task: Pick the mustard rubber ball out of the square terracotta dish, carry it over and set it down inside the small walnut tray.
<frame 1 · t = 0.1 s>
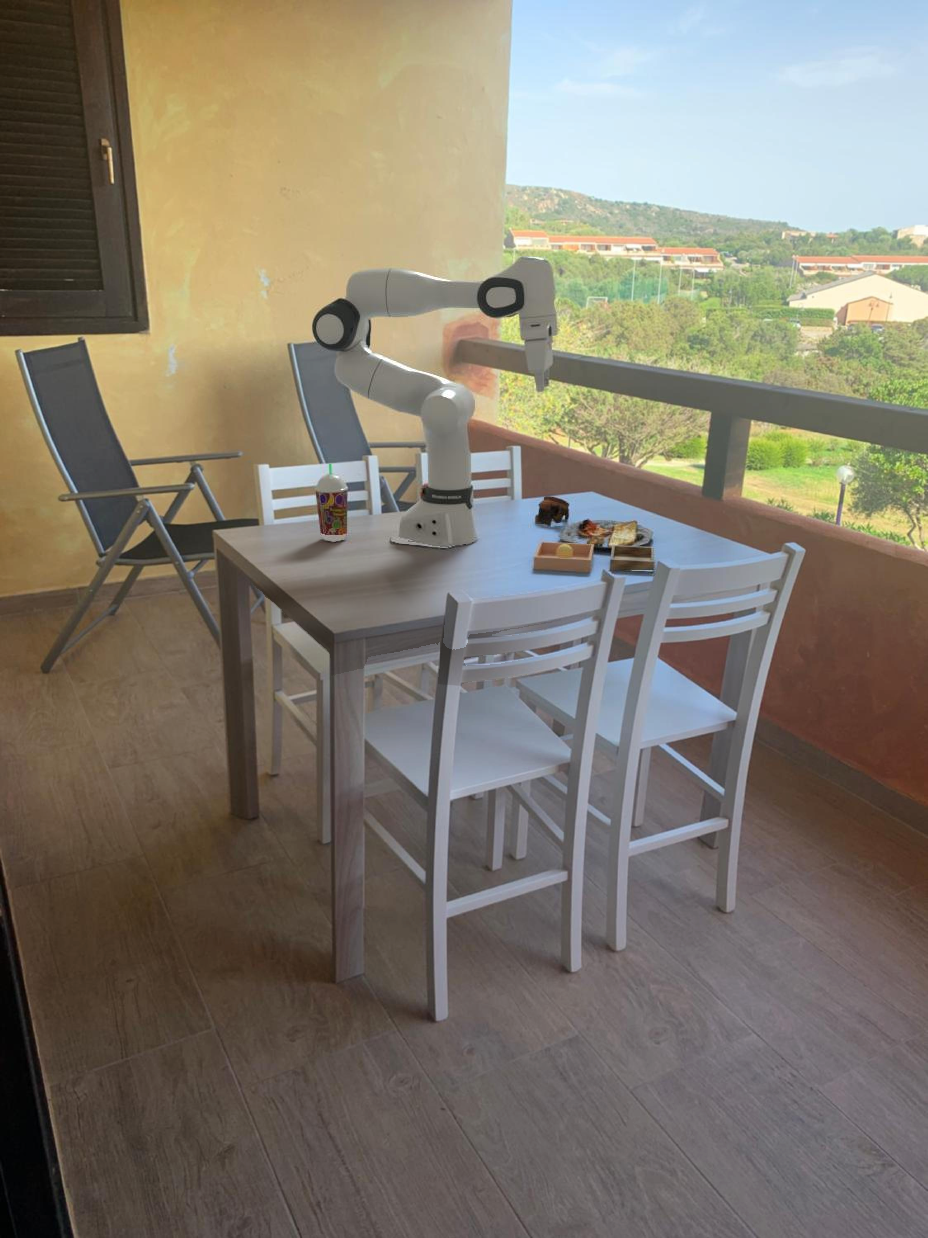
hand: (542, 388, 220), 39 cm above the table, tool pointing down, fingers open, 8 cm apart
food plate: (605, 541, 238), on the table
dish: (564, 562, 219), on the table
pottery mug: (553, 523, 254), on the table
tray: (631, 563, 218), on the table
smoothie: (334, 540, 238), on the table
ball: (564, 552, 218), point 2 cm above the table, touching dish
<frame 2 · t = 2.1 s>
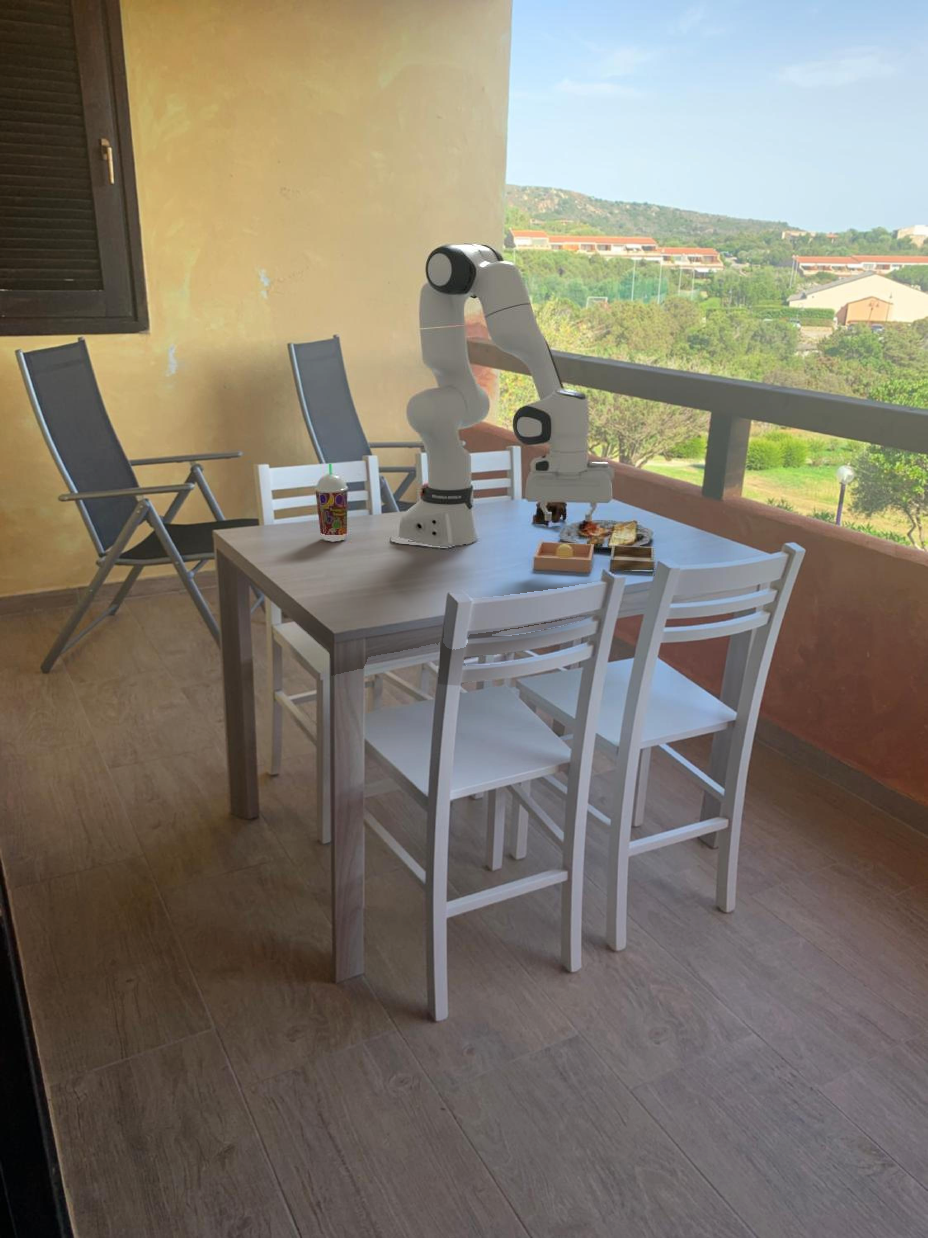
hand: (568, 520, 215), 10 cm above the table, tool pointing down, fingers open, 8 cm apart
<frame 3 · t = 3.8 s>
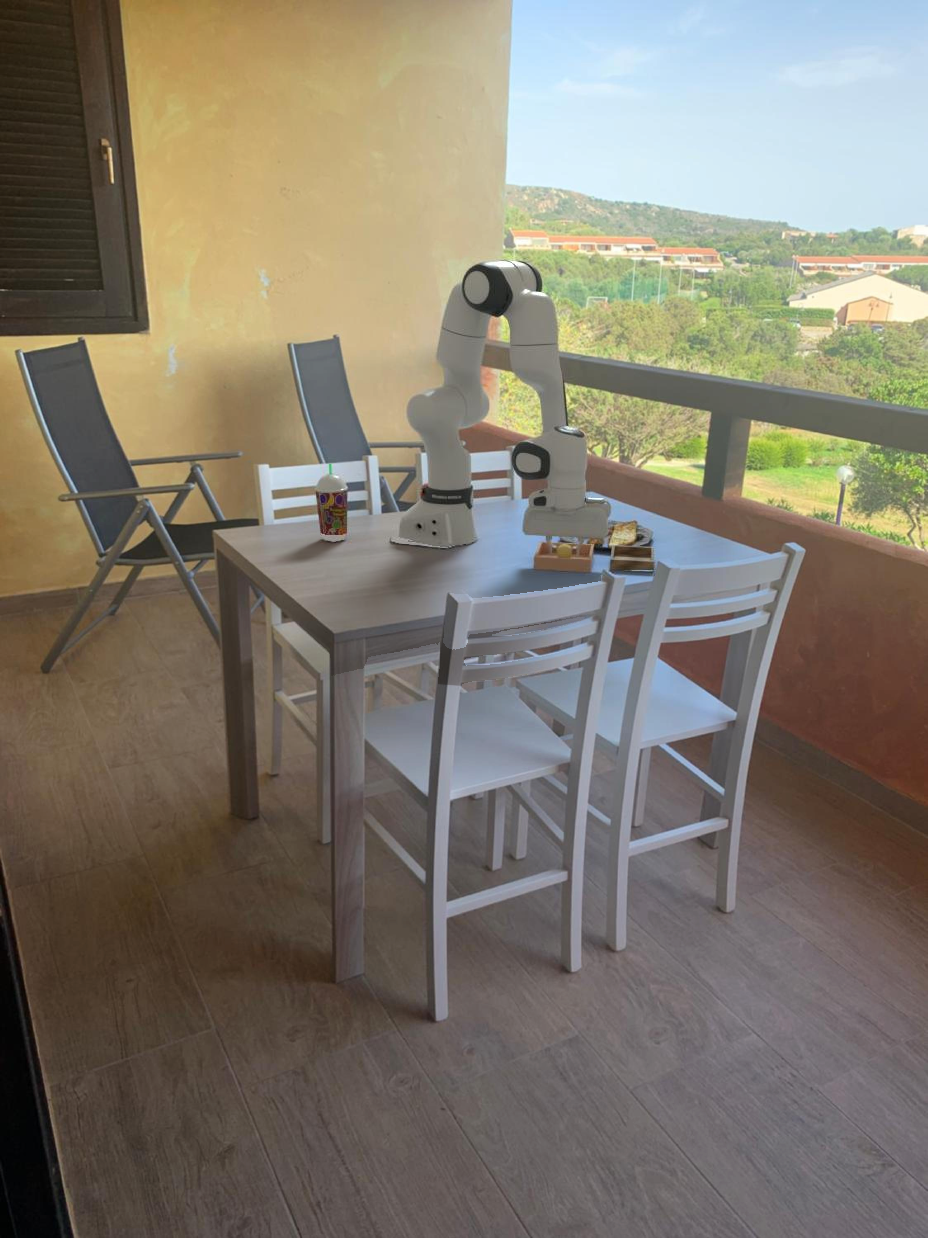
hand: (564, 554, 218), 2 cm above the table, tool pointing down, fingers closed on ball, 4 cm apart
ball: (564, 552, 218), point 2 cm above the table, touching dish, gripper
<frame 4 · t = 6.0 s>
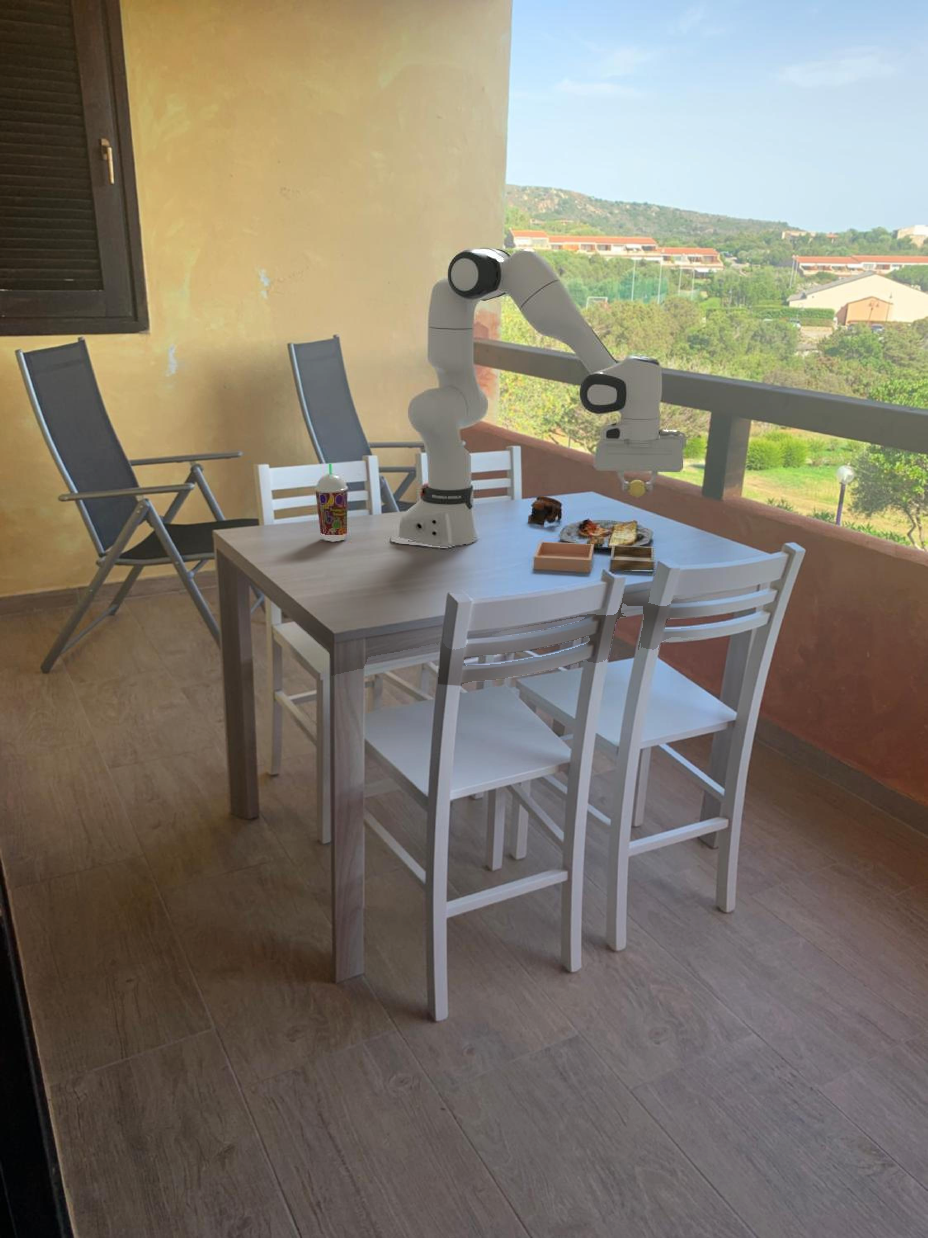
hand: (636, 490, 211), 18 cm above the table, tool pointing down, fingers closed on ball, 4 cm apart
ball: (637, 488, 211), point 18 cm above the table, touching gripper
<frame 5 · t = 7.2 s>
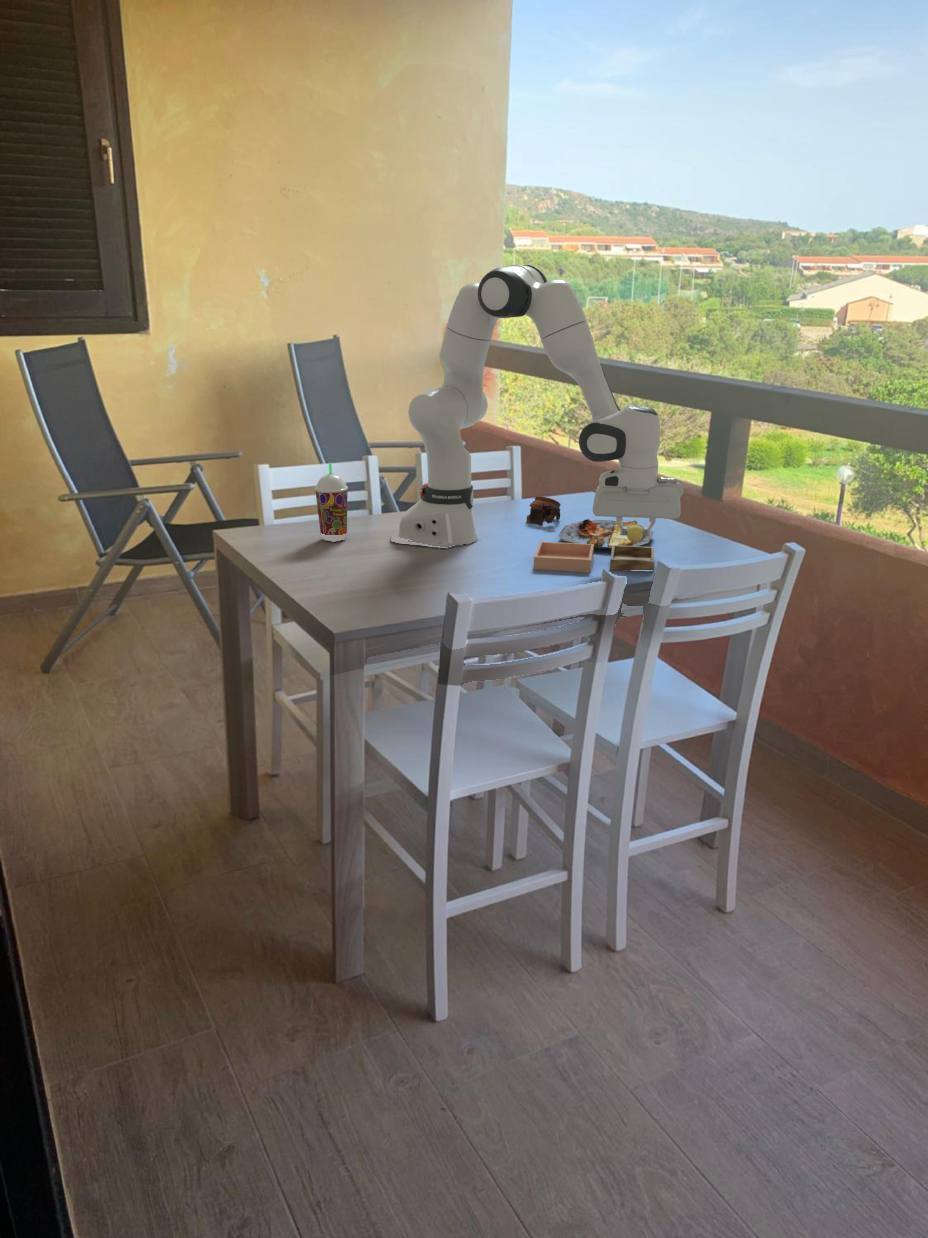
hand: (634, 535, 215), 7 cm above the table, tool pointing down, fingers closed on ball, 4 cm apart
ball: (635, 533, 215), point 7 cm above the table, touching gripper
when the fingers open (5 cm above the table, at t = 8.2 s): ball drops 2 cm, resting on tray.
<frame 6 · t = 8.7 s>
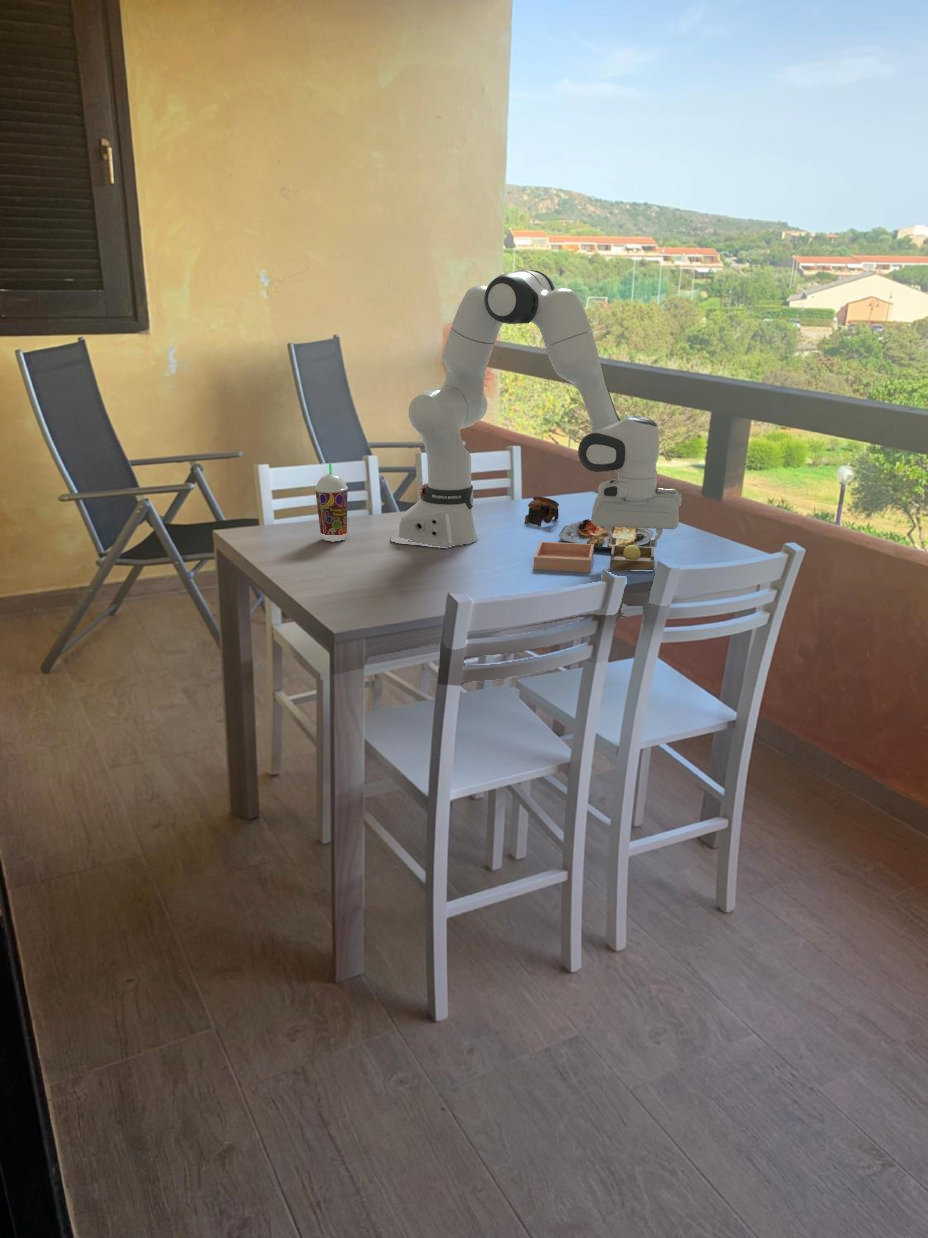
hand: (632, 545, 216), 5 cm above the table, tool pointing down, fingers open, 8 cm apart
ball: (631, 553, 217), point 3 cm above the table, touching tray
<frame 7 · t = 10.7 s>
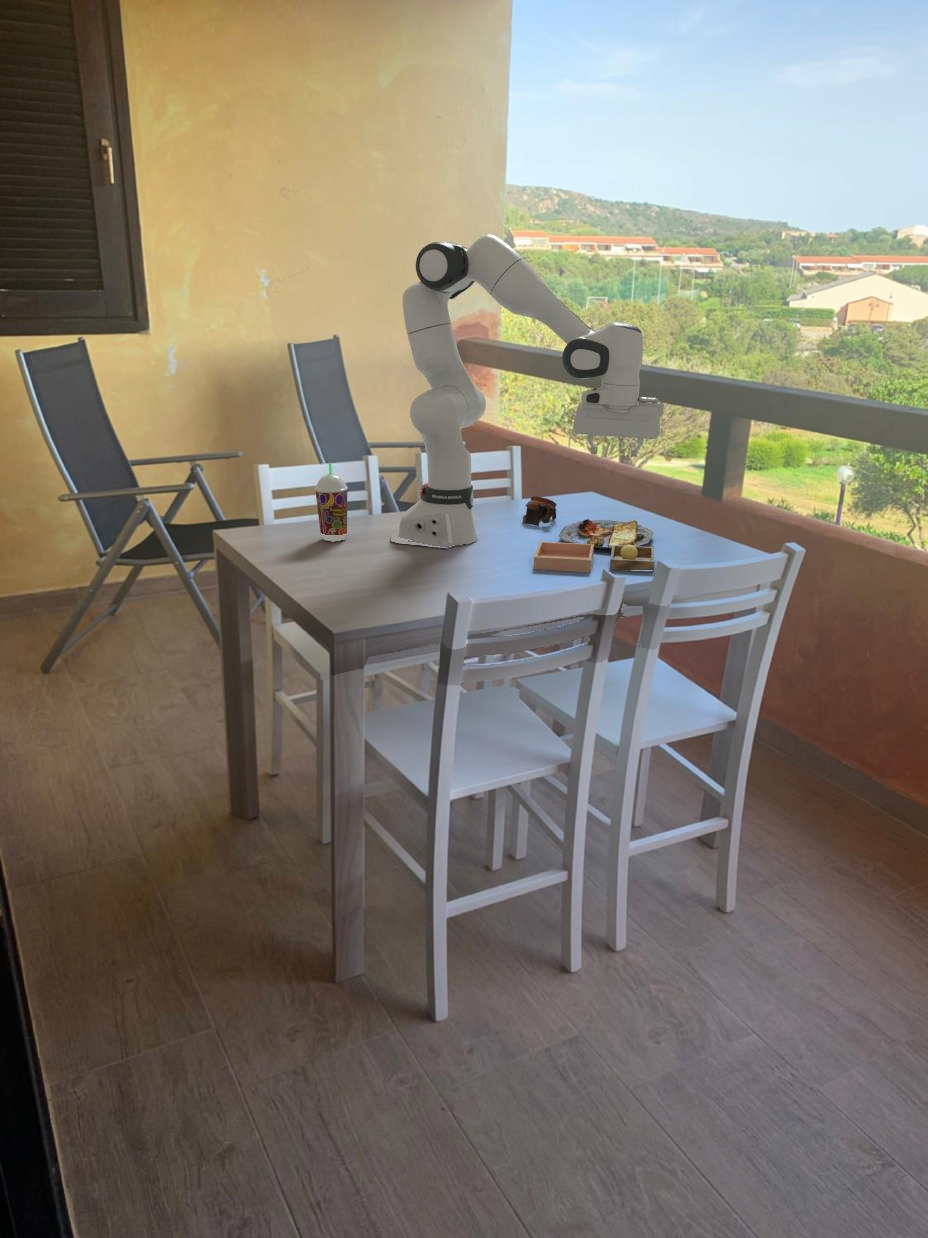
hand: (613, 454, 218), 24 cm above the table, tool pointing down, fingers open, 8 cm apart
ball: (628, 553, 217), point 3 cm above the table, tilted 24°, touching tray
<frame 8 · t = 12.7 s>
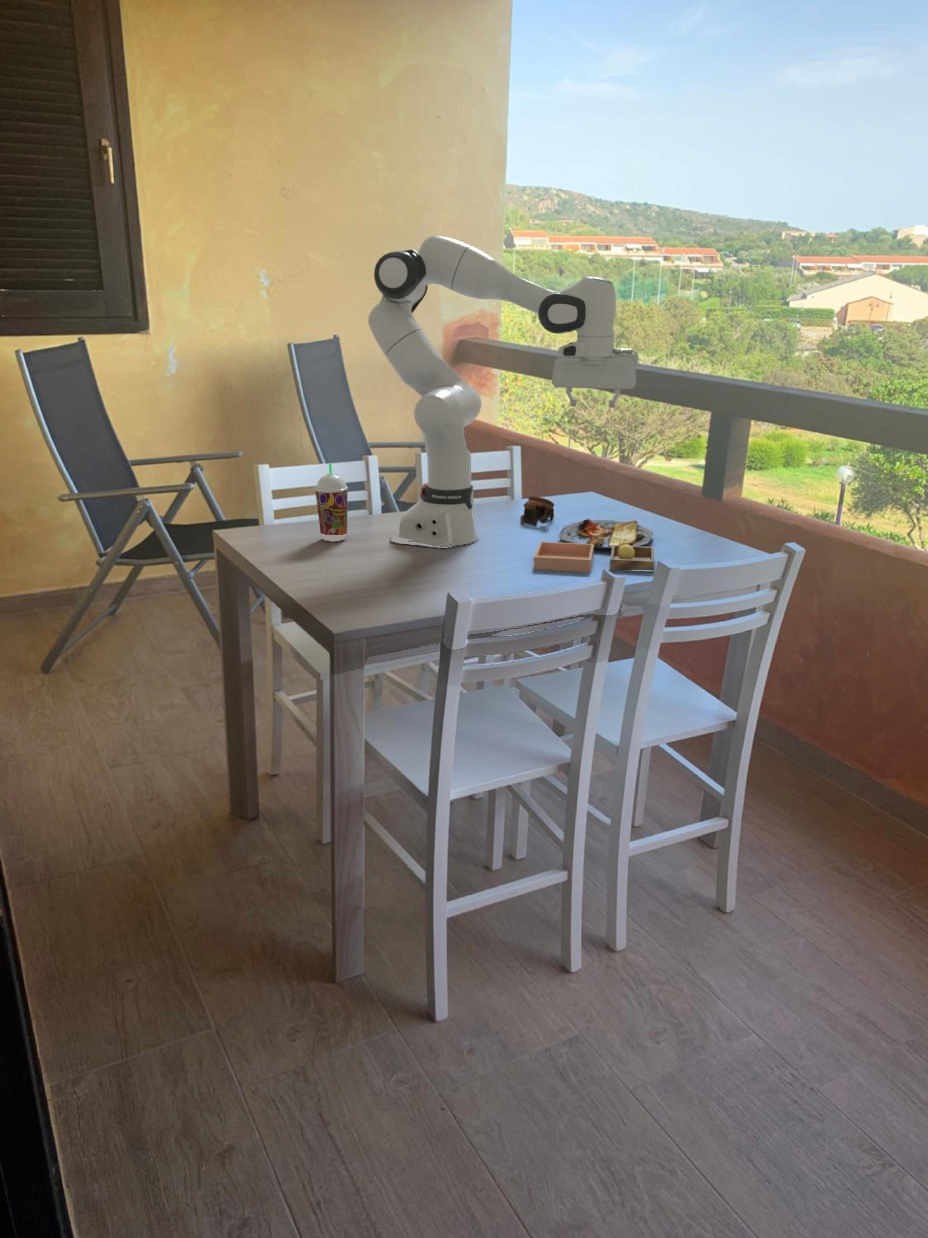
hand: (592, 406, 224), 34 cm above the table, tool pointing down, fingers open, 8 cm apart
ball: (626, 552, 217), point 3 cm above the table, tilted 43°, touching tray
at the end: ball inside the target area on the tray (1.5 cm from its centre), point 2.6 cm above the tray's base; the gripper is holding nothing; ball touching tray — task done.
